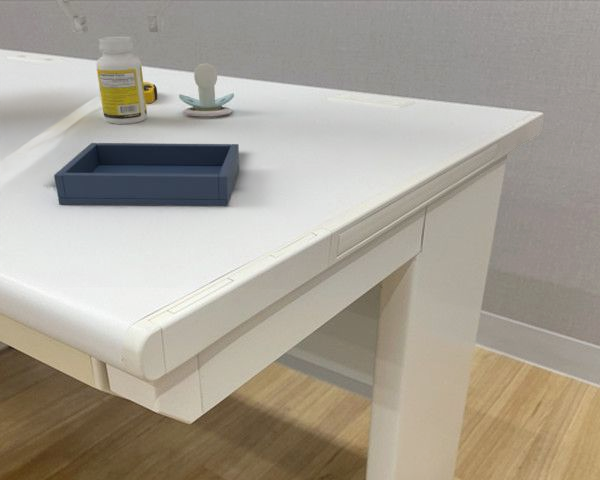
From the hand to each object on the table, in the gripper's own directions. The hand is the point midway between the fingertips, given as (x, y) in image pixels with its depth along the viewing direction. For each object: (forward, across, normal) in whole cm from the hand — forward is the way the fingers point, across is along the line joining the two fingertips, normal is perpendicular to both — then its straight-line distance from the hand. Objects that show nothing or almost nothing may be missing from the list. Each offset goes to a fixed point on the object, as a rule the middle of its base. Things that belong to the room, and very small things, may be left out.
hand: (118, 31), depth 77 cm
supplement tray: (+10, +9, -27) cm, 30 cm away
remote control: (+11, -3, +17) cm, 20 cm away
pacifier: (+11, +9, +4) cm, 15 cm away
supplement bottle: (+11, -1, 0) cm, 11 cm away
